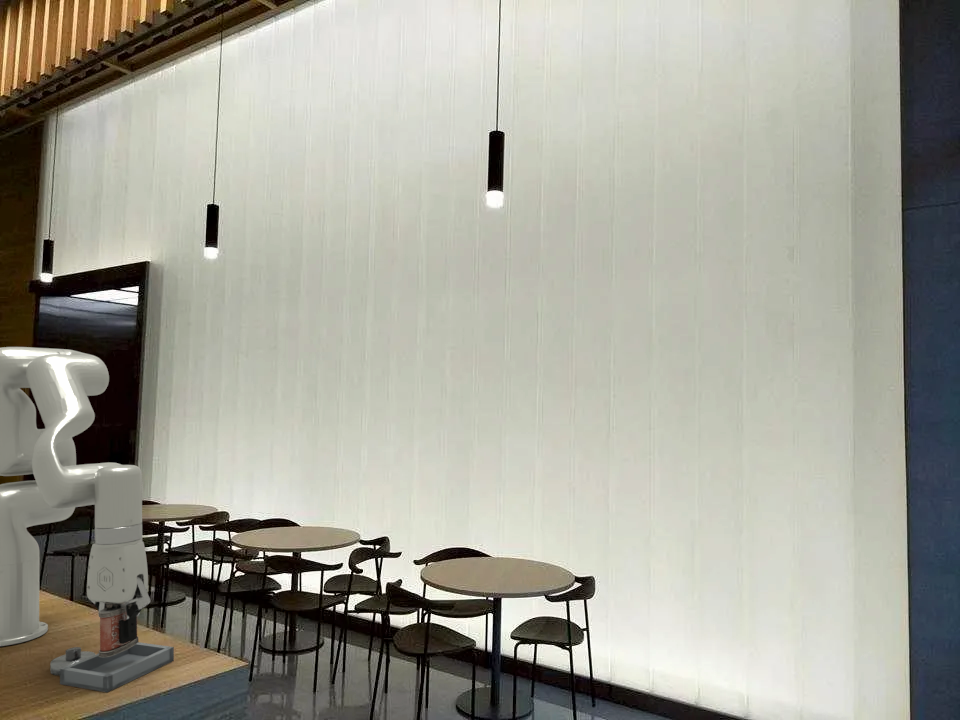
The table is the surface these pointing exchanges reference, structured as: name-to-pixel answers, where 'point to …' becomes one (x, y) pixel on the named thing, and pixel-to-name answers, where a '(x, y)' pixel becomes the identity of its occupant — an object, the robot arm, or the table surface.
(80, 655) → the pot lid
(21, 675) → the table surface
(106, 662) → the tray
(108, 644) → the lighter
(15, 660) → the table surface
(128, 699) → the table surface
